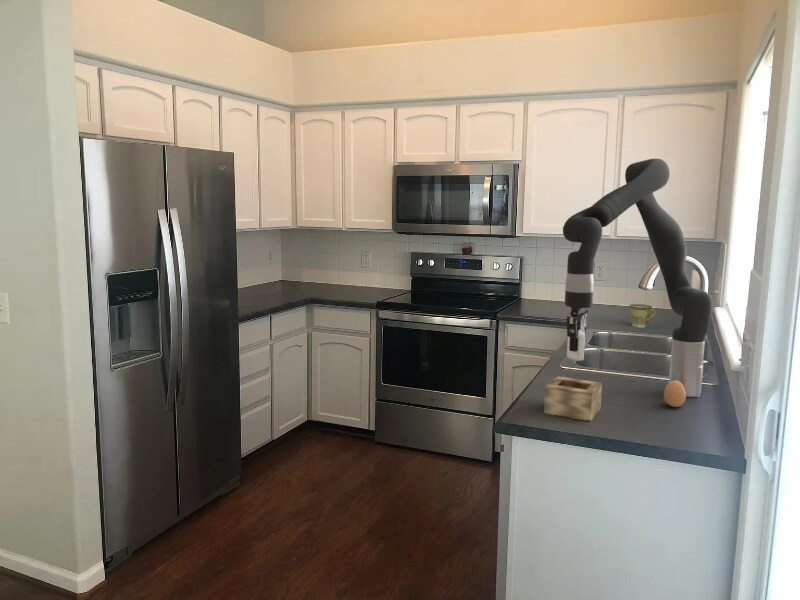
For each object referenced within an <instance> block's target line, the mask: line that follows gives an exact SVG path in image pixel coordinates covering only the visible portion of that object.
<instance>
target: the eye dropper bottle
mask: <svg viewBox="0 0 800 600" xmlns="http://www.w3.org/2000/svg"><path fill="white" fill-rule="evenodd" d="M577 327H578V326H577ZM572 333H574V330H572ZM585 341H586V335H585V333H584V332H583V331H582V330H580V331H579V338H578V350H577V351H576V352H574V351H570V350H569V344H570V338H569V337H568V336H567V343H566V344H567V345H566V346H567V347H566V357H567V358H568V359H569V360H572V361H576V362H579V361H580V362H581V361H584V359H585Z"/></svg>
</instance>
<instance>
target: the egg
mask: <svg viewBox="0 0 800 600" xmlns="http://www.w3.org/2000/svg"><path fill="white" fill-rule="evenodd" d="M686 398H687V397H686V391H685V388H684V386H683V385H682V383H680V382H679V381H676V380H674V381H671V382H669V381H668V383H667V384H666V386H665V387H664V389H663V399H664V401H665V403H666V404H667V405H668V406H670V407H672V408H678V407H680V406H682V405H683V404H684V403H685V401H686Z"/></svg>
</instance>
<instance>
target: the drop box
mask: <svg viewBox="0 0 800 600" xmlns="http://www.w3.org/2000/svg"><path fill="white" fill-rule="evenodd" d="M602 389H603V382H599V381H593V380H592V381H591V380H585V379H579V378H572V377H566V376H561V375H560V376H559V375H557V376H556V377H554V378H553V379H552V380H551V381H550V382H549V383H547V384H546V385H544V402H543V404H544V405H543V414H544V413H545V415H550V414H551V416H555V415H557V416H556V417H561V416H562V417H563V418H566V417H567V419H572V420H579V421H583V422H589V423H590V421H591V422H592V421H593V419H594V418H595V417H596V415H598V413H600V410H601V405H602V392H603V390H602ZM562 417H561V418H562Z"/></svg>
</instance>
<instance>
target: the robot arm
mask: <svg viewBox="0 0 800 600" xmlns="http://www.w3.org/2000/svg"><path fill="white" fill-rule="evenodd" d="M624 173H625V175H624V176H625V177H624V179H625V184H624V185H622V186H620V187H618V188H615V189H614V190H612V191H610V192H608V193H607V194H605V195H604V196H602V197H601V198H599V199H598V200H597V201H596V202H595V203H594V204H592V205H591V206H590V207H587V208H585V209H582V210H580V211H578V212H577V213H575V214H573V215H571V216H570V217H568V218H567V219H566V221H565V222H564V224H563V227H562V235H563V237H564V239H566V241H568V242H572V243H580V247H579V249H578V250H575V251H571V252H570V253H568V256H567V263H566V264H567V267H566V268H567V269H566V277H565V285H564V287H565V288H564V305H565V307H570V308H571V309H570V312H569V314H568V316H566V332H567V333H566V336H567V338H568V337H569V338H570V344H569V350H570V351H574V352H576V351H577V350H578V338H579V331H580V330H582V331H583V332H584V334H585V332H586V331H587V328H588V327H587V325H588V318H589V317H588V316H589V310H588V309H589V308H591V307H593V300H594V284H595V281H594V266H595V257H596V254H597V252H598V248H599V245H600V242H601V240H602V236H603V228H605V227H607V226H609V225H610V224H611V223H612V222H614V221H615V220H617V218H618V217H620V216H621V215H622V214H623V213H624V212H626V211H627V210H629V209H630V208H631V207H632V206H634V205H636V208H637V211H638V212H639V214H640V217H641V219H642V222H643V224H644V228H645V229H646V232H647V236H648V239H649V241H650V244H651V247H652V250H653V252H654V255H655V258H656V261H657V263H658V267H659V269H660V272H661V275H662V278H663V280H664V284H665V289H666V293H667V297H668V302H669V305H670V307H671V309H672V311H673V312H674V313H675V314H677V315H678V316H681V317H682V318H681V324H680V326H679V327H676V328H674V329H673V330H672V339H671V352H670V363H669V364H670V365H669V377H668V383H669V382H671V381H674V380H676V381H679V382H680V383H682V385H683V386H684V388H685V391H686V398H700V396H701V394H702V393H701V392H702V384H703V375H704V374H703V372H704V355H705V354H704V353H705V345H706V344H705V342H706V336H707V334H708V333H709V328H710V322H711V316H712V308H713V307H712V298H711V295H710V294H709V293H708V292H706V291H705V290H702V289H698V288H695V287H694V288H693V286H692V285H691V282H690V280H689V278H688V275H687V271H686V260H687V252H688V249H687V243H686V240H685V237H684V234H683V231H682V228H681V226H680V224H679V223H678V222H677V220H675V219H674V218H673V217H672V215H670V213H668V212H667V211H666V210H665V209H664V208H663V207H661V205H660V204H659V203H658V200H657V199H656V197H655V195H654V192H656V191H658V190H660V189H663V188H664V187H665V186H666V185H667V184H668V182H669V179H670V175H671V172H670V168H669V165H668V163H667V162H666V161H664V160H663V159H661V158H649V159H645V160H641V161H636V162H632V163H630V164H629V165H627V167H626V169H625V172H624ZM577 326H578V327H577ZM572 330H574V333H572Z"/></svg>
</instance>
